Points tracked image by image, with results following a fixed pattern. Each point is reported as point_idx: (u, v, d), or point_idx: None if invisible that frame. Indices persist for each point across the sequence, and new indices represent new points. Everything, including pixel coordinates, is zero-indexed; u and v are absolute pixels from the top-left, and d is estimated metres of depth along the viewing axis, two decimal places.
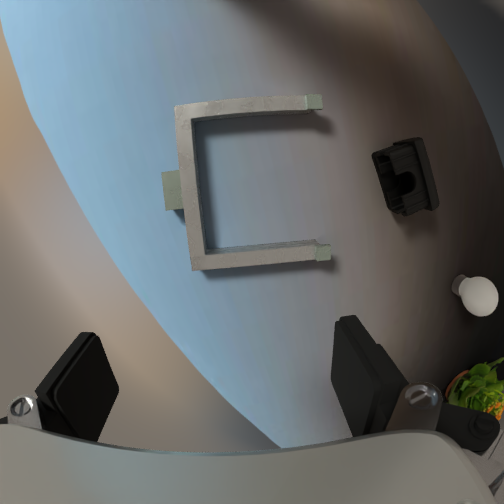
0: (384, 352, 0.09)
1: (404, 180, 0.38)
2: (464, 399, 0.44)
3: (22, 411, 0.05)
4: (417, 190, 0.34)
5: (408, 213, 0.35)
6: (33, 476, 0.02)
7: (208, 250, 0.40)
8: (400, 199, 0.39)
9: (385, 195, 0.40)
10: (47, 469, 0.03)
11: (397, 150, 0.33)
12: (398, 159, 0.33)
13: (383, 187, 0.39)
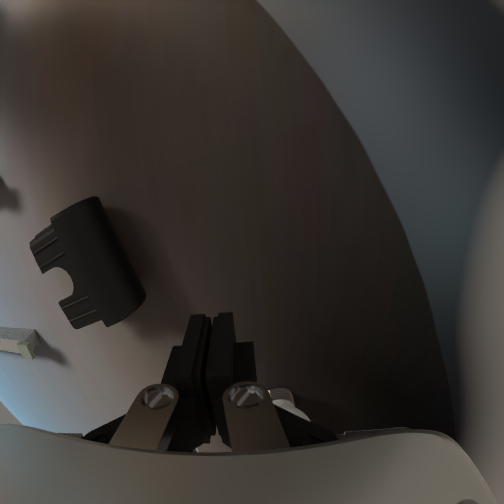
0: None
1: None
2: None
3: (157, 403, 0.07)
4: (77, 294, 0.21)
5: (75, 326, 0.22)
6: (33, 476, 0.02)
7: None
8: None
9: None
10: (47, 469, 0.03)
11: (39, 235, 0.19)
12: (40, 250, 0.19)
13: None
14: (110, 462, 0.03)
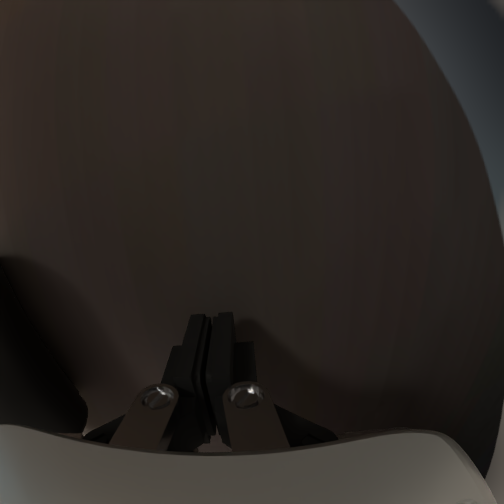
0: None
1: None
2: None
3: (157, 403, 0.07)
4: None
5: None
6: (33, 476, 0.02)
7: None
8: None
9: None
10: (47, 469, 0.03)
11: None
12: None
13: None
14: (110, 462, 0.03)
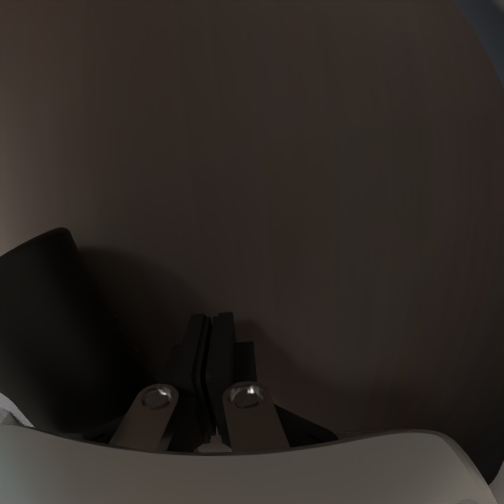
0: None
1: None
2: None
3: (157, 403, 0.07)
4: None
5: None
6: (33, 476, 0.02)
7: None
8: None
9: None
10: (47, 469, 0.03)
11: None
12: None
13: None
14: (110, 462, 0.03)
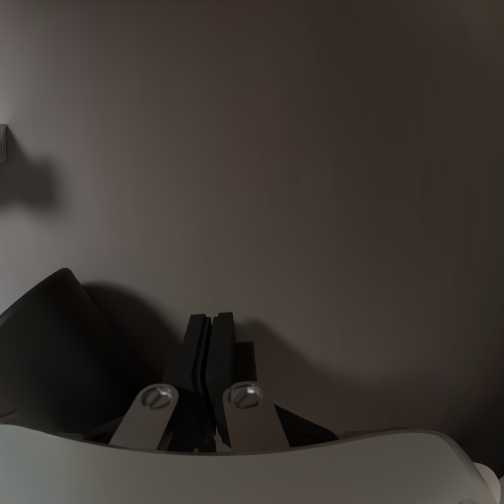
0: None
1: None
2: None
3: (157, 403, 0.07)
4: None
5: None
6: (33, 476, 0.02)
7: None
8: None
9: None
10: (47, 469, 0.03)
11: None
12: None
13: None
14: (110, 462, 0.03)
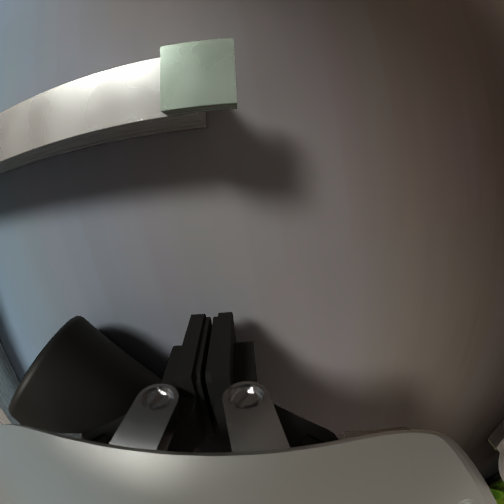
0: (253, 350, 0.10)
1: None
2: None
3: (157, 403, 0.07)
4: None
5: None
6: (33, 476, 0.02)
7: None
8: None
9: None
10: (47, 469, 0.03)
11: None
12: None
13: None
14: (110, 462, 0.03)
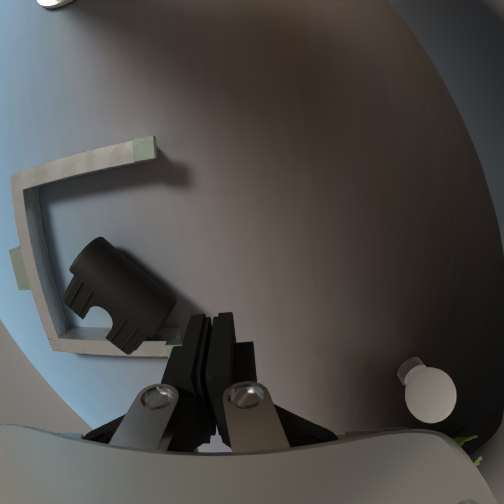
0: None
1: None
2: None
3: (157, 403, 0.07)
4: (117, 322, 0.24)
5: (127, 352, 0.25)
6: (33, 476, 0.02)
7: (68, 329, 0.30)
8: None
9: None
10: (47, 469, 0.03)
11: (67, 288, 0.24)
12: (72, 300, 0.24)
13: None
14: (110, 462, 0.03)
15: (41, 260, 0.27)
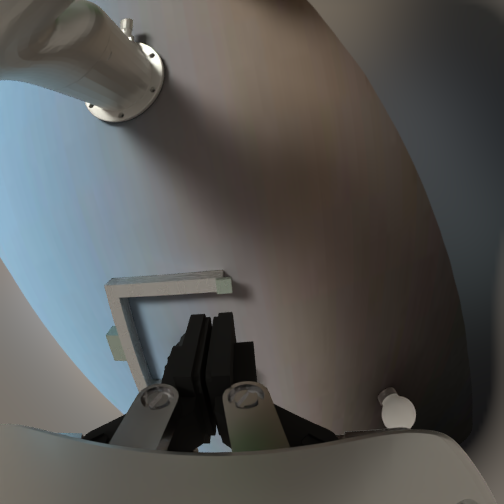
0: None
1: None
2: None
3: (157, 403, 0.07)
4: None
5: None
6: (33, 476, 0.02)
7: (152, 381, 0.46)
8: None
9: None
10: (47, 469, 0.03)
11: None
12: None
13: None
14: (110, 462, 0.03)
15: (135, 341, 0.42)
